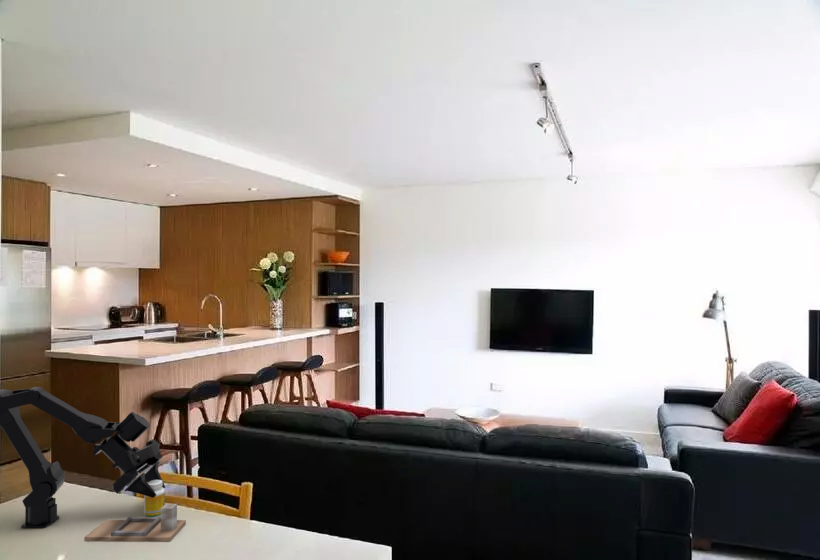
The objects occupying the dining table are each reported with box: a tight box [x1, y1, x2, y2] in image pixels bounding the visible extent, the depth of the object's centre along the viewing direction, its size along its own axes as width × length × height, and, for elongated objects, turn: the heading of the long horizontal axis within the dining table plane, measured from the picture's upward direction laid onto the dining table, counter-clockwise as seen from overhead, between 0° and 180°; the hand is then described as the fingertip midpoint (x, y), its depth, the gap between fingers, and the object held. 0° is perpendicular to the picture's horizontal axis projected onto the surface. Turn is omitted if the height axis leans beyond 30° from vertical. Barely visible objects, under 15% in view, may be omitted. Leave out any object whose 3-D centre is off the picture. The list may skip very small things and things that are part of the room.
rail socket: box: [84, 503, 187, 542], centre depth 143 cm, size 22×10×7 cm, turn 91°
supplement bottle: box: [143, 479, 166, 517], centre depth 153 cm, size 5×5×10 cm
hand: (159, 492), depth 153 cm, fingers closed on supplement bottle, 5 cm apart
